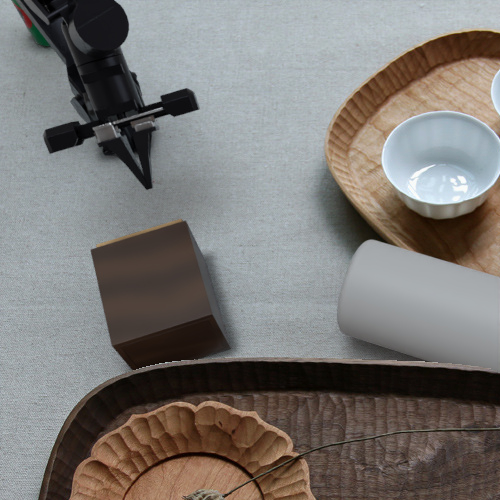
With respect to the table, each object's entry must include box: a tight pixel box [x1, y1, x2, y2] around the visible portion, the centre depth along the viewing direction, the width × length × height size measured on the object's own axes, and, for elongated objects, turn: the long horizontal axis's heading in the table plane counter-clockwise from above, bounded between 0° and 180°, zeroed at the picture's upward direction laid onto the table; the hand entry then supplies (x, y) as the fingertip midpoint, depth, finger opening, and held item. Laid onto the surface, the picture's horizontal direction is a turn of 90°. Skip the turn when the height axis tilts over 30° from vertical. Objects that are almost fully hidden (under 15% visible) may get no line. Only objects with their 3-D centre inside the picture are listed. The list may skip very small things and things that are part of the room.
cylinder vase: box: [336, 239, 500, 373], centre depth 101 cm, size 12×12×25 cm
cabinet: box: [90, 220, 232, 371], centre depth 105 cm, size 15×13×10 cm
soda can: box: [10, 0, 51, 47], centre depth 125 cm, size 5×5×12 cm
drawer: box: [95, 218, 183, 248], centre depth 106 cm, size 15×11×8 cm
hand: (149, 189), depth 104 cm, fingers closed
